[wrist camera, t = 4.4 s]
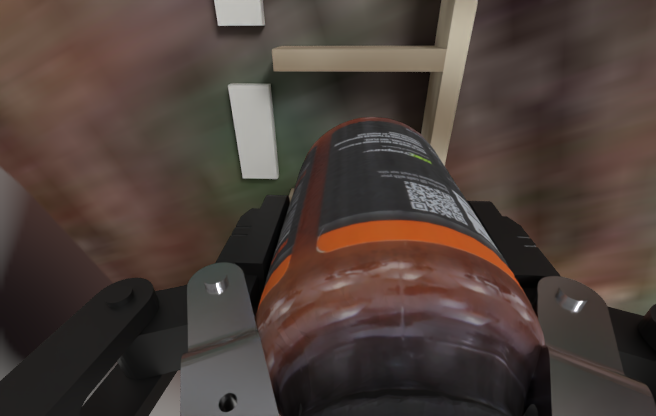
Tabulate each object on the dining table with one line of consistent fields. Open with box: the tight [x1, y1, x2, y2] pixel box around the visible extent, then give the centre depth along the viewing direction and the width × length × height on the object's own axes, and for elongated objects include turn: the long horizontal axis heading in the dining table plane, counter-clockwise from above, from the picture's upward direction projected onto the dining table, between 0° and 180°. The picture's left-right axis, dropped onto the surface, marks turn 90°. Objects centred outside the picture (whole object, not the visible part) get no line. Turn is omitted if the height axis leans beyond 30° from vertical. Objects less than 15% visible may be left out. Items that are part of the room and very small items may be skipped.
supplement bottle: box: [255, 117, 545, 416], centre depth 9 cm, size 6×6×11 cm
